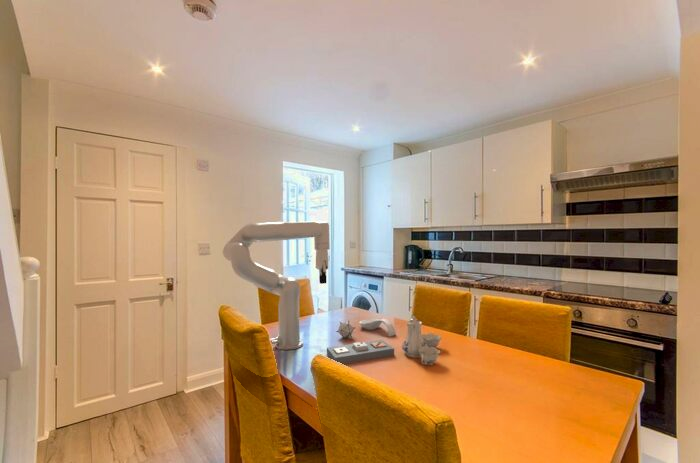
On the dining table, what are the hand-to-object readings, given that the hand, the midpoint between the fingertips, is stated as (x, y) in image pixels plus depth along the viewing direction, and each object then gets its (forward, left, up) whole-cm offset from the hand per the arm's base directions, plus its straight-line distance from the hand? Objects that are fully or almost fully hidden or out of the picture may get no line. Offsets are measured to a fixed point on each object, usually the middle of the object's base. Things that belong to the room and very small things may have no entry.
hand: (322, 283), depth 162 cm
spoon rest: (+29, -1, -28) cm, 40 cm away
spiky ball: (+10, -5, -27) cm, 30 cm away
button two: (+8, -29, -25) cm, 39 cm away
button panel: (+8, -29, -27) cm, 41 cm away
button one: (-1, -29, -26) cm, 39 cm away
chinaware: (+32, -38, -28) cm, 57 cm away
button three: (+16, -29, -26) cm, 42 cm away
